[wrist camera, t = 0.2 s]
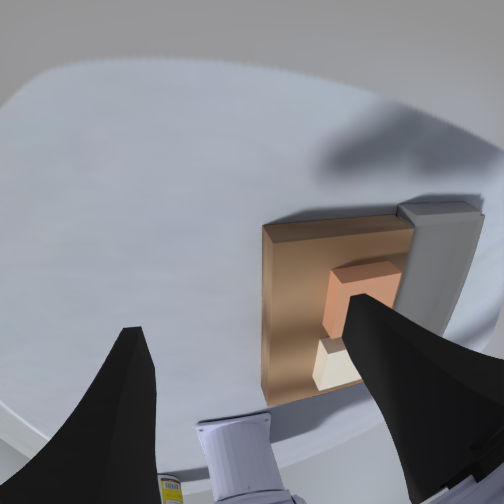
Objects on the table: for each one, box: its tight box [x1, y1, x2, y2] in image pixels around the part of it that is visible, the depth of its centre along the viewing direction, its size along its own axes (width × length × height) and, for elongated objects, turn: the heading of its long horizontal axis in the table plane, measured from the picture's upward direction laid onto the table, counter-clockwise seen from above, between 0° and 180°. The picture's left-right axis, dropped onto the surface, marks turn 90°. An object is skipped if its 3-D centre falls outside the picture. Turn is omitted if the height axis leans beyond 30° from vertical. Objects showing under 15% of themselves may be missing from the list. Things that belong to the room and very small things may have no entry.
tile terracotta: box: [322, 261, 401, 339], centre depth 19 cm, size 4×4×2 cm
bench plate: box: [261, 214, 414, 406], centre depth 23 cm, size 16×10×2 cm, turn 1°
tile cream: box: [312, 337, 362, 391], centre depth 22 cm, size 4×4×2 cm
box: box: [393, 202, 485, 337], centre depth 24 cm, size 17×9×2 cm, turn 1°
